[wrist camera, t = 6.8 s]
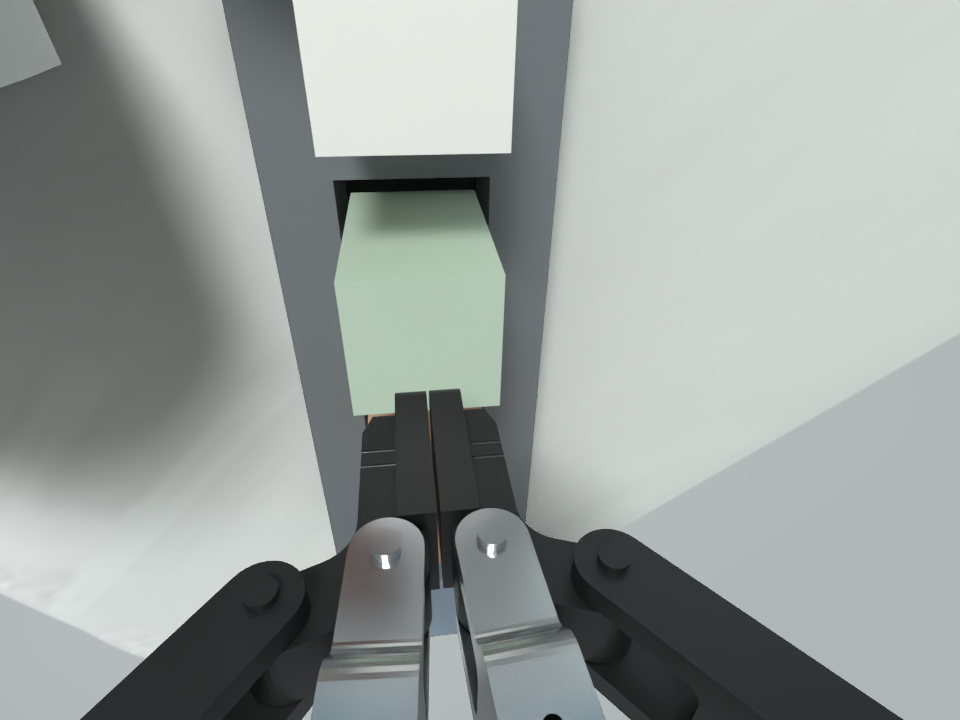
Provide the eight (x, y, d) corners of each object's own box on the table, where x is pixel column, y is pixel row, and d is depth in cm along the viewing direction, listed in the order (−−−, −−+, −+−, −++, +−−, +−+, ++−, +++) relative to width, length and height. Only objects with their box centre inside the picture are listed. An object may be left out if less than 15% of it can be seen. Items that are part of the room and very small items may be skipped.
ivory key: (476, -71, 16) (521, -91, 11) (474, 96, 19) (511, 152, 13) (319, -74, 16) (278, -99, 10) (339, 97, 18) (315, 156, 13)
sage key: (474, 189, 20) (505, 275, 15) (473, 296, 23) (499, 405, 17) (350, 192, 20) (334, 282, 14) (363, 302, 22) (353, 415, 17)
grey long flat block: (551, -122, 19) (585, -141, 15) (510, 500, 36) (522, 554, 32) (227, -134, 17) (189, -157, 14) (345, 515, 34) (340, 572, 31)
